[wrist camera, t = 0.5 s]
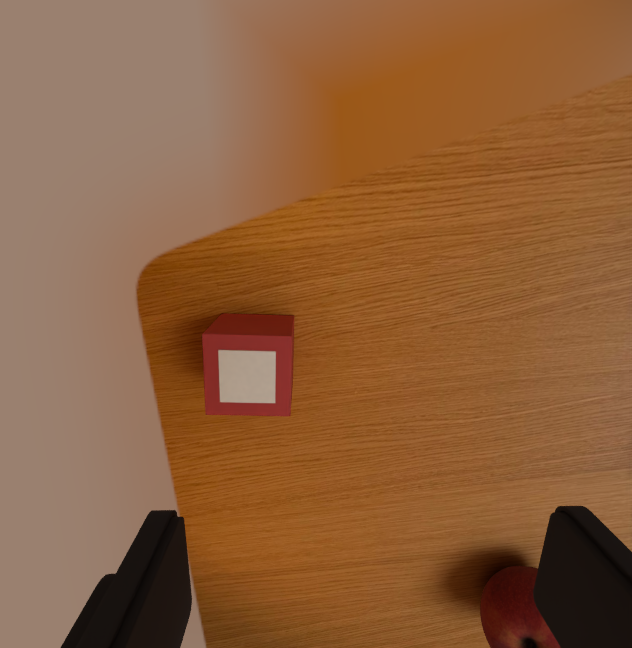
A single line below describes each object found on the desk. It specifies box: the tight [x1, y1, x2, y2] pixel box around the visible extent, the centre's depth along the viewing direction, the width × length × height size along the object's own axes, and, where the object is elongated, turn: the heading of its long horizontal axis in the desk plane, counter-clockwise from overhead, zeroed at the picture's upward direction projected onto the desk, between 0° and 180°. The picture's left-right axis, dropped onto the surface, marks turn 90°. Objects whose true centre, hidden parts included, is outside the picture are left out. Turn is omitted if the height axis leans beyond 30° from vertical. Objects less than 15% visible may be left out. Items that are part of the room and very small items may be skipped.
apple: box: [480, 566, 561, 648], centre depth 28 cm, size 7×8×8 cm
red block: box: [202, 313, 294, 416], centre depth 23 cm, size 5×5×5 cm
